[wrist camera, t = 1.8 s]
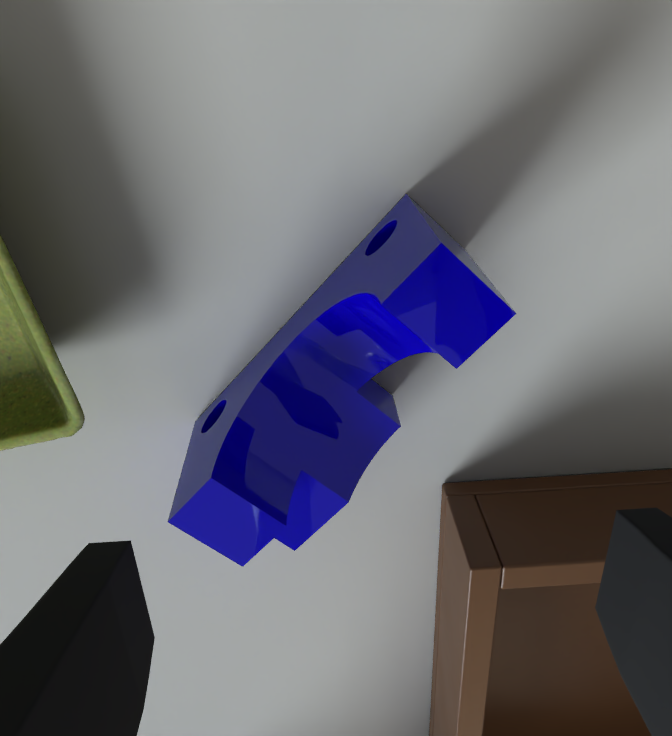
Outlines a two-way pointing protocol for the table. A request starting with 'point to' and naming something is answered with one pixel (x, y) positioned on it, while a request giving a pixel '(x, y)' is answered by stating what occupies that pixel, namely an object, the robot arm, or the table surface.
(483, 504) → the tray
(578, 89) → the table surface
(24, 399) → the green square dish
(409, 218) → the cable holder
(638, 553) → the robot arm
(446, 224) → the table surface
